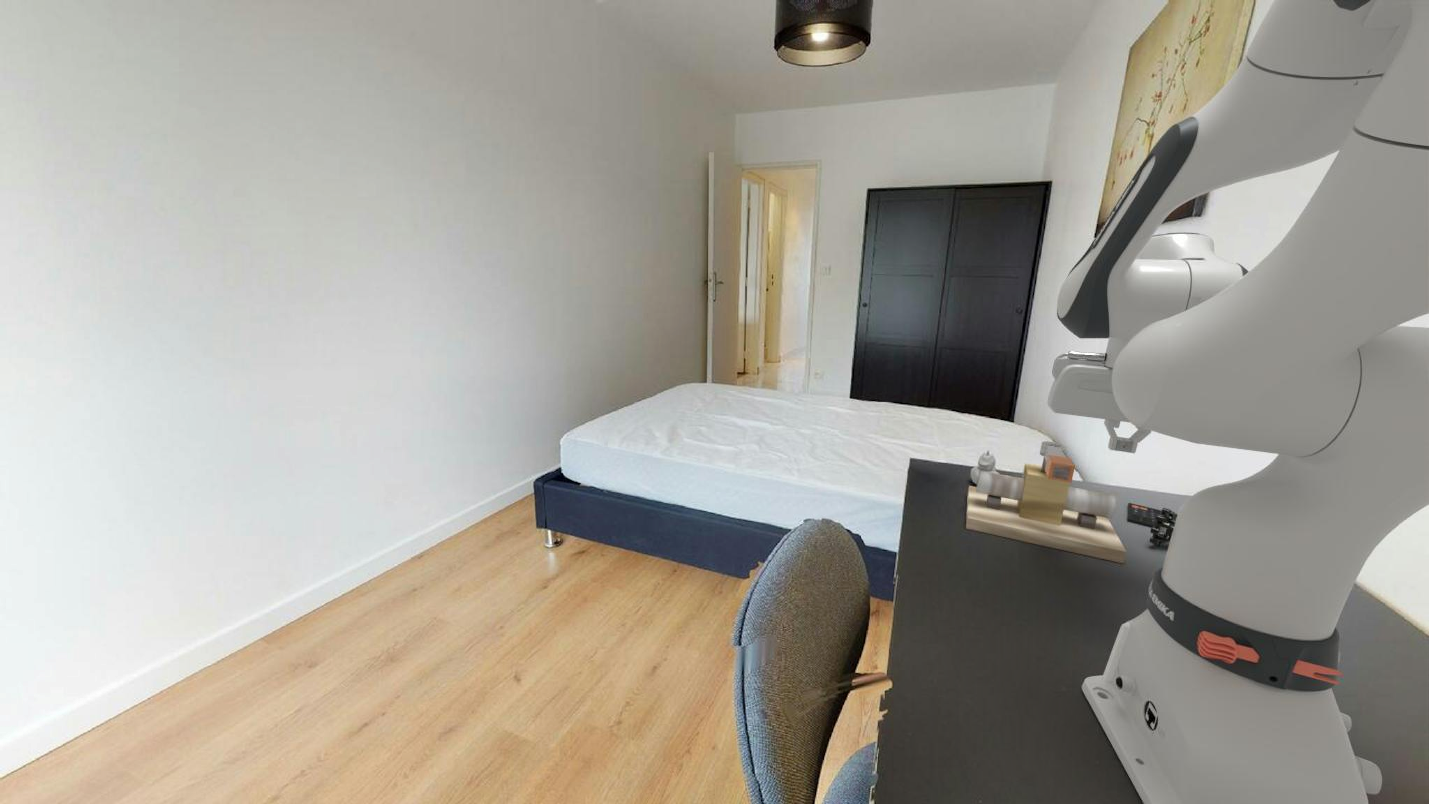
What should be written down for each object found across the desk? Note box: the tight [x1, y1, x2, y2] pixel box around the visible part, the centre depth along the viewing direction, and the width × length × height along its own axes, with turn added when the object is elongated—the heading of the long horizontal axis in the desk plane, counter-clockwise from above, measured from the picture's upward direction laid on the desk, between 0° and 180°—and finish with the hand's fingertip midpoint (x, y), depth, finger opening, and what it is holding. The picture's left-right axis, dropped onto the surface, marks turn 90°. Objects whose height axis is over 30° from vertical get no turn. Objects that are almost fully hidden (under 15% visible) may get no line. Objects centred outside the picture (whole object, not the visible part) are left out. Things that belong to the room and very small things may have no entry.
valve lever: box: [1039, 440, 1076, 484], centre depth 83 cm, size 14×3×3 cm, turn 154°
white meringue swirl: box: [970, 450, 1000, 485], centre depth 107 cm, size 5×7×8 cm
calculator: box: [1126, 502, 1178, 529], centre depth 93 cm, size 9×12×3 cm
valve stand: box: [965, 457, 1127, 564], centre depth 89 cm, size 16×22×13 cm
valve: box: [1148, 507, 1176, 547], centre depth 80 cm, size 7×7×12 cm
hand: (1121, 450), depth 75 cm, fingers closed
